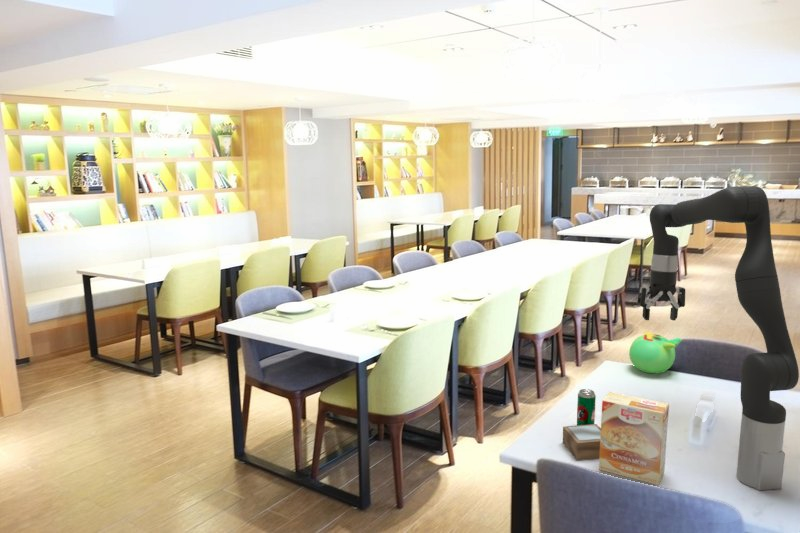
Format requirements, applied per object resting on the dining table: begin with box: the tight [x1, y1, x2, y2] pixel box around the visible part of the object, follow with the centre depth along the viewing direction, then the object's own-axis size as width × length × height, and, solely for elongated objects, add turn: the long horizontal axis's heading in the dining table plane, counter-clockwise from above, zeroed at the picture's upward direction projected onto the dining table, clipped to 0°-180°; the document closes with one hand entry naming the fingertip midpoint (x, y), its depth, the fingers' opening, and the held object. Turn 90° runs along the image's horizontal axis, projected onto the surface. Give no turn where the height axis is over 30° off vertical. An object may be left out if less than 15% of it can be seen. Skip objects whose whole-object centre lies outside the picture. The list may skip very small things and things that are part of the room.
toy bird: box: [628, 331, 683, 374], centre depth 227 cm, size 18×17×15 cm
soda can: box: [576, 388, 597, 426], centre depth 181 cm, size 5×5×12 cm
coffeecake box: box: [598, 391, 670, 486], centre depth 157 cm, size 15×7×20 cm, turn 56°
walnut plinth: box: [562, 423, 601, 461], centre depth 170 cm, size 10×10×5 cm
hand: (659, 319), depth 191 cm, fingers open, 8 cm apart
